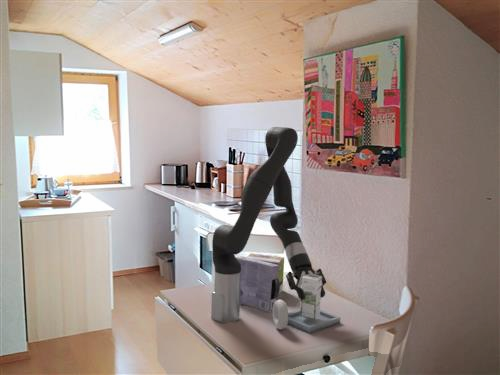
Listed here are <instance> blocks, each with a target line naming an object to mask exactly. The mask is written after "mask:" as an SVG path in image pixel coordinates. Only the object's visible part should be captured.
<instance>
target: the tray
mask: <svg viewBox="0 0 500 375" xmlns="http://www.w3.org/2000/svg"><path fill="white" fill-rule="evenodd" d="M300 314H301V308H300V309H297V310H294V311H292V312H288V323H287V325H289V326H291V327H294V328H295V329H297V330H301V331H303V332H304V333H306V334H307V333H308V334H312V333H315V332H318V331H320V330H323V329H327V328H329V327H332V326H336V325H339V324H341V316H340V317H339V316H337V315H336V314H335V315H334V314H332V313H329V312H326V311H324V310H322V309H320V315H319V316H318V317H317V318H316V319H310V318H305V317H301V316H300Z"/></svg>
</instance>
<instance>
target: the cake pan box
mask: <svg viewBox="0 0 500 375" xmlns="http://www.w3.org/2000/svg"><path fill="white" fill-rule="evenodd" d="M235 257H236V259H237V260H238V261H239V262H240V264H241V284H240V305H244V306H247V307H250V308H254V309H258V310H262V311H265V312H269V313H271V312H273V306H274V303H275V302H276V301H277V300H278V296H279V295H280V294H279V290H280V283H279V278H278V277H279V265H276V264H272V263H267V262H264V261H260V260H255V259H251V258H247V256H240V255H239V256H235ZM278 294H279V295H278Z"/></svg>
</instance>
